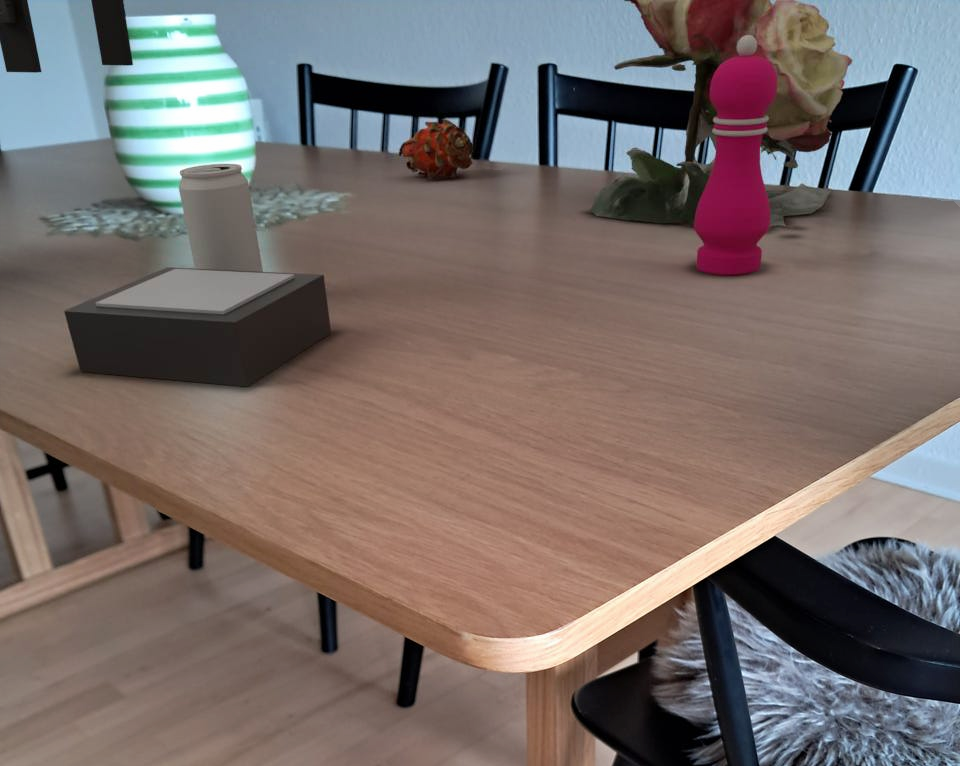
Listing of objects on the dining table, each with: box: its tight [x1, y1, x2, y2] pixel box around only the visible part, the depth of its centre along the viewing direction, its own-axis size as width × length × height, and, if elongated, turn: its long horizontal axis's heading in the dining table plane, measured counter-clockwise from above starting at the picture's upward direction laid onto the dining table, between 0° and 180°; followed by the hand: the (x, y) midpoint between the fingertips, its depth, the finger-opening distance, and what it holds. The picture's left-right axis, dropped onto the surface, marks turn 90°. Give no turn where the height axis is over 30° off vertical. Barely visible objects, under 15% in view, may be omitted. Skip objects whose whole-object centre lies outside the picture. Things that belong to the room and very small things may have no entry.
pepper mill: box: [693, 35, 777, 276], centre depth 95 cm, size 7×7×20 cm
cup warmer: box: [63, 266, 332, 388], centre depth 85 cm, size 17×14×5 cm
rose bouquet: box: [573, 0, 853, 228], centre depth 117 cm, size 26×29×30 cm
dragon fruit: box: [396, 118, 474, 181], centre depth 151 cm, size 8×8×12 cm
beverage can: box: [178, 163, 264, 272], centre depth 96 cm, size 6×6×12 cm
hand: (74, 69), depth 87 cm, fingers open, 13 cm apart
